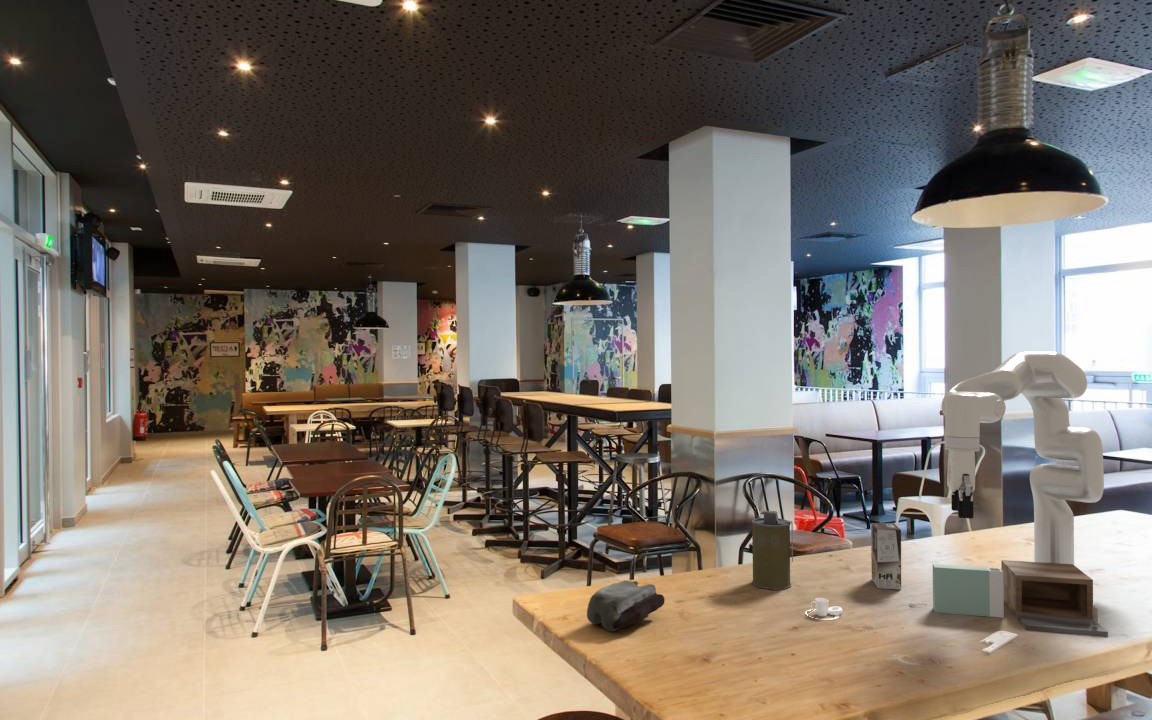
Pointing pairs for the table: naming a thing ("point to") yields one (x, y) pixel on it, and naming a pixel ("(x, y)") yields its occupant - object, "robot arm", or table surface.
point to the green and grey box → (968, 590)
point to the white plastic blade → (998, 640)
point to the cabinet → (1051, 597)
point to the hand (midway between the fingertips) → (962, 514)
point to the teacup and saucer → (825, 609)
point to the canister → (771, 551)
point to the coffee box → (886, 555)
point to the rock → (623, 604)
